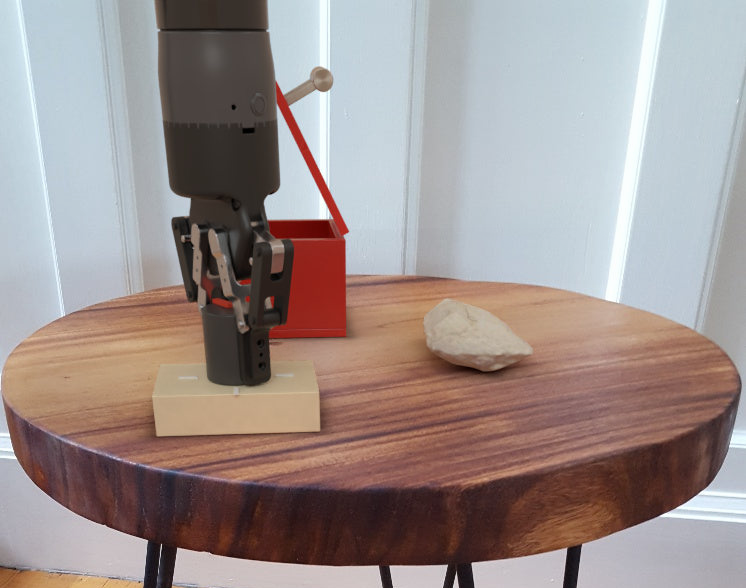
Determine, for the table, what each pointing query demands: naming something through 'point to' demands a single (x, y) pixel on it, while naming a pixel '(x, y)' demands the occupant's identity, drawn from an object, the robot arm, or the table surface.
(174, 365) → the panel
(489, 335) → the stone
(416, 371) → the table surface
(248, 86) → the robot arm
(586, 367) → the table surface
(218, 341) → the valve knob
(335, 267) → the red open box
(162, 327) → the table surface
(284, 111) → the box lid
